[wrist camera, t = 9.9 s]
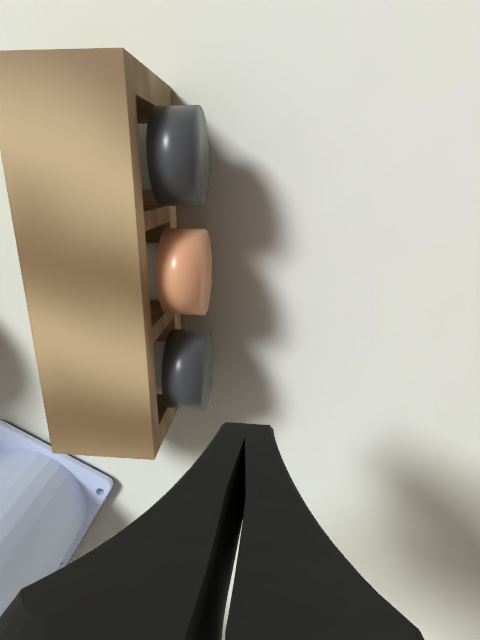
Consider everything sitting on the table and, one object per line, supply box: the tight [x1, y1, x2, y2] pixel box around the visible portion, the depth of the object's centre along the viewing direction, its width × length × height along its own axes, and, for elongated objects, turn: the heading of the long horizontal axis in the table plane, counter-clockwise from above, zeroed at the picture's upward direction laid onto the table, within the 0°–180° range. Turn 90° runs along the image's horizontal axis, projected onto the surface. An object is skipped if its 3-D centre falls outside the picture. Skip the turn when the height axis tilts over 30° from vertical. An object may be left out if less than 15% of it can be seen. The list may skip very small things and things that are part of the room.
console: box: [0, 48, 182, 460], centre depth 18 cm, size 15×4×6 cm, turn 0°
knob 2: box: [153, 329, 213, 410], centre depth 19 cm, size 4×6×4 cm, turn 90°
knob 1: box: [138, 105, 209, 206], centre depth 16 cm, size 4×6×4 cm, turn 90°
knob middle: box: [146, 228, 212, 315], centre depth 18 cm, size 4×6×4 cm, turn 90°
